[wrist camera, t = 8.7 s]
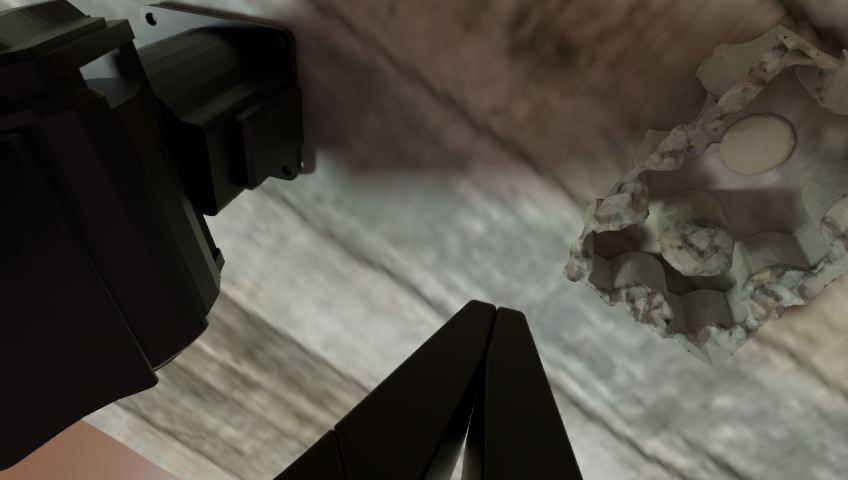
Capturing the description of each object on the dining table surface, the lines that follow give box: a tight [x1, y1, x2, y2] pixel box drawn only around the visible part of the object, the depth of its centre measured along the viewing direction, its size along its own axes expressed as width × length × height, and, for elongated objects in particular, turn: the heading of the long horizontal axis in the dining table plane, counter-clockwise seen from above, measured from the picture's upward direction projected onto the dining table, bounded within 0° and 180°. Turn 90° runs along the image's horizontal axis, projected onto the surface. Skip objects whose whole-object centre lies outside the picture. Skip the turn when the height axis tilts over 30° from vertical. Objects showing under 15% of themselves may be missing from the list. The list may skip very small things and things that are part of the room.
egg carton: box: [563, 25, 848, 368], centre depth 18 cm, size 11×8×4 cm
